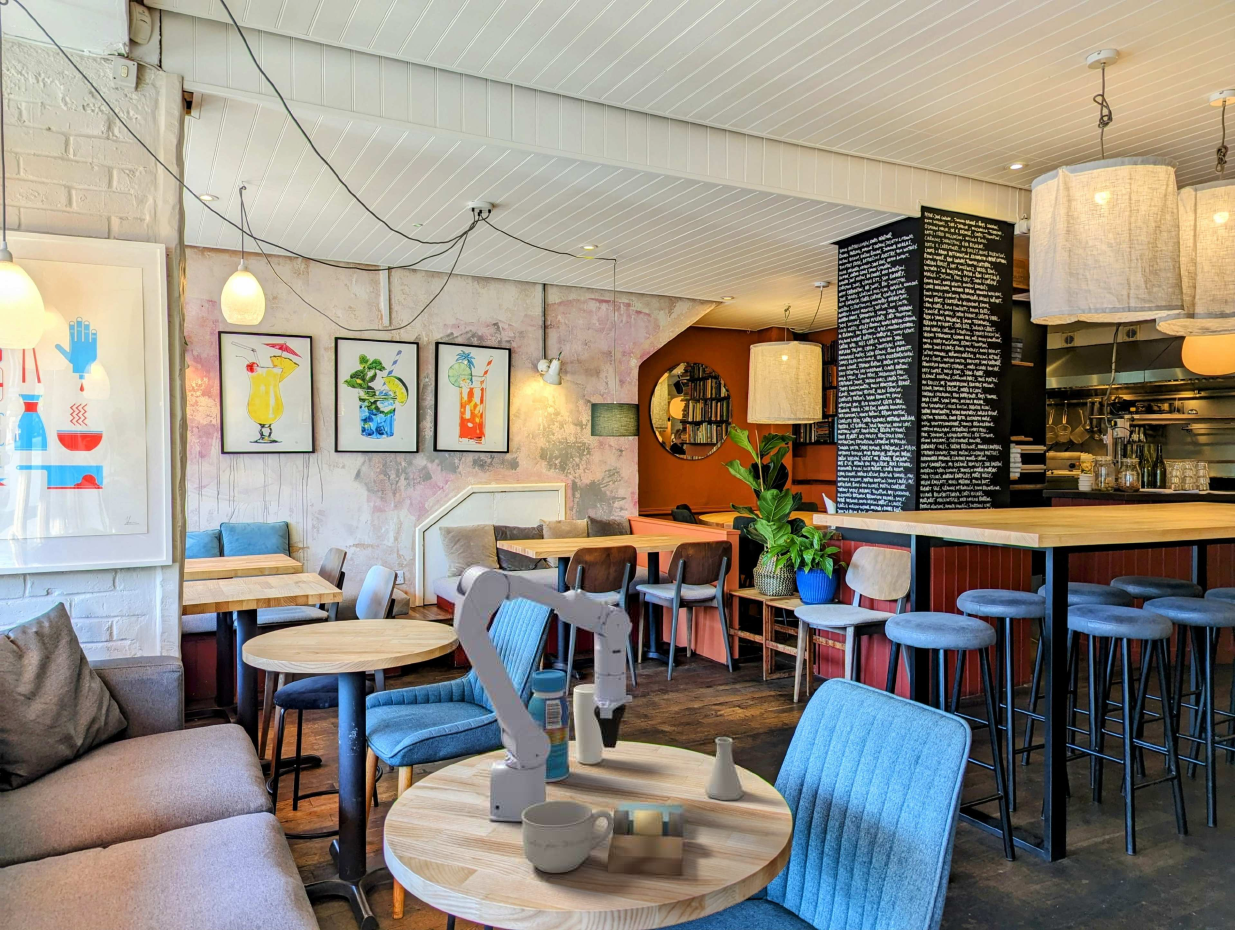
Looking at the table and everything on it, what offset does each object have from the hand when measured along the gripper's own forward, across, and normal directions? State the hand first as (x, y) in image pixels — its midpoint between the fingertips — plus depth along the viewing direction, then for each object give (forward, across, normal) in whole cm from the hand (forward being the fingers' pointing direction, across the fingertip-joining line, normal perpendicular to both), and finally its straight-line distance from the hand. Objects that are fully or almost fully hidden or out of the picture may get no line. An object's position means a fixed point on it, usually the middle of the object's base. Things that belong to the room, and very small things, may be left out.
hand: (609, 746), depth 149 cm
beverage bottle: (+10, +10, +13) cm, 19 cm away
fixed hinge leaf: (+9, -22, -8) cm, 25 cm away
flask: (+10, +4, -21) cm, 23 cm away
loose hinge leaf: (+9, -14, -8) cm, 19 cm away
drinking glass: (+10, +19, +6) cm, 22 cm away
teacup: (+10, -26, +4) cm, 28 cm away
